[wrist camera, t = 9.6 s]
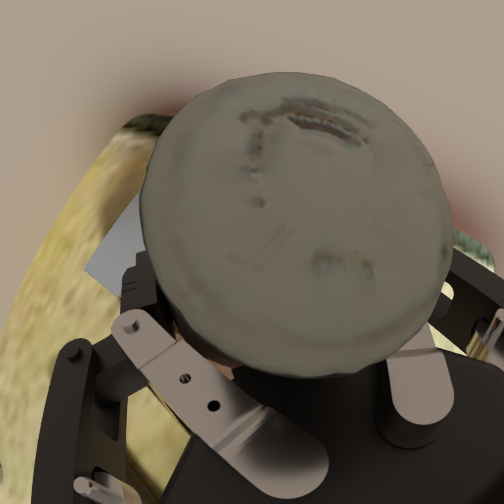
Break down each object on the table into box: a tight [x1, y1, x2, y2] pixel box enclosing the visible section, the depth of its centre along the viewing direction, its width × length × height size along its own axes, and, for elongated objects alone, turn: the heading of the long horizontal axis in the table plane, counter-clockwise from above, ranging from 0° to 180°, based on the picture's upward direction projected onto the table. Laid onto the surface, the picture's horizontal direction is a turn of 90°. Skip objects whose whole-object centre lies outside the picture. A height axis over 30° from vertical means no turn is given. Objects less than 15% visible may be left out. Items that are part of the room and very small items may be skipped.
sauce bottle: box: [139, 72, 453, 379], centre depth 13 cm, size 6×6×20 cm
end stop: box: [83, 188, 146, 298], centre depth 21 cm, size 8×3×6 cm, turn 148°
